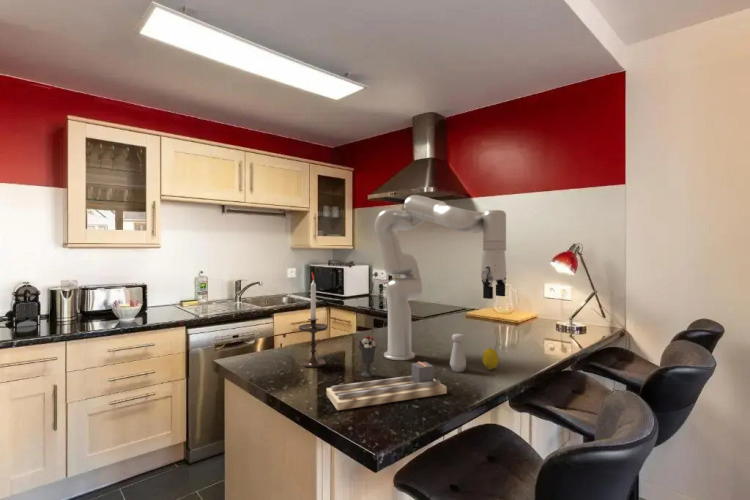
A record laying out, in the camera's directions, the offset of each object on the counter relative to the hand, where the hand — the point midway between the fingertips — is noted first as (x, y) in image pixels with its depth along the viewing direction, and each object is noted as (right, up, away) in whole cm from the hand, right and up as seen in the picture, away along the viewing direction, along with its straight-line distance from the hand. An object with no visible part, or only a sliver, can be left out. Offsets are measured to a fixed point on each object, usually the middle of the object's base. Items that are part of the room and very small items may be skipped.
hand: (494, 297), depth 131 cm
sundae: (-43, -27, +3) cm, 51 cm away
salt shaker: (-11, -27, +8) cm, 30 cm away
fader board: (-37, -27, -16) cm, 48 cm away
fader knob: (-26, -25, -11) cm, 37 cm away
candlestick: (-64, -27, +15) cm, 71 cm away
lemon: (+1, -27, +8) cm, 29 cm away
